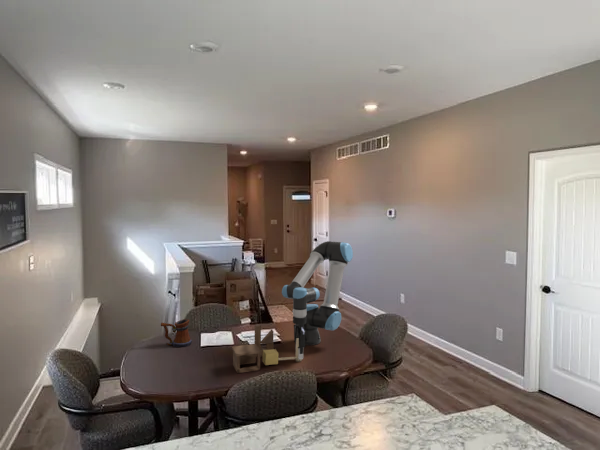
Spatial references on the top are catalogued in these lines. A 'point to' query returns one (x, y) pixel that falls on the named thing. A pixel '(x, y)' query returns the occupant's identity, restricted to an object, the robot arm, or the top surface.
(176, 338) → the mug
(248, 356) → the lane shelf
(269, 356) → the block
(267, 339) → the wooden block
